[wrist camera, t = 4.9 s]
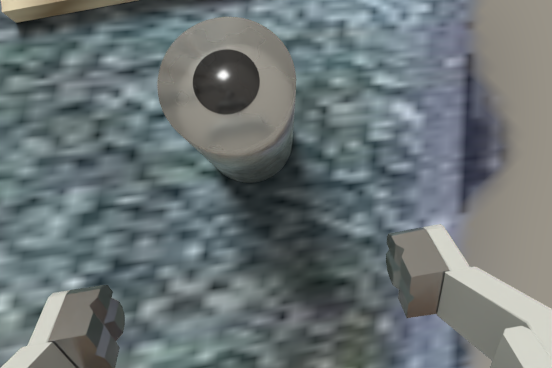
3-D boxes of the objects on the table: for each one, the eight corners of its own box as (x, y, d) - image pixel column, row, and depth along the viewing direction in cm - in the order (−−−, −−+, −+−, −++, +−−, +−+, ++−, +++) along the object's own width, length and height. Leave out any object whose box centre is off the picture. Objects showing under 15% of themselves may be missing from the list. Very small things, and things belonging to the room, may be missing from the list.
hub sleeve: (214, 189, 23) (167, 161, 14) (201, 107, 23) (147, 28, 14) (299, 174, 23) (308, 135, 14) (283, 92, 23) (282, 4, 14)
